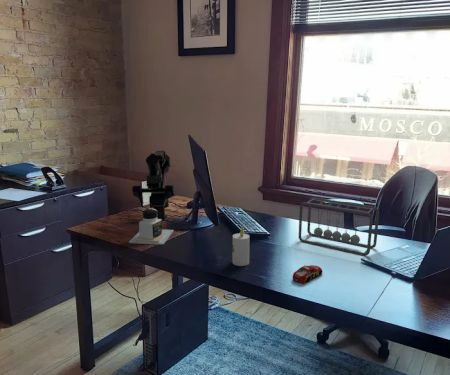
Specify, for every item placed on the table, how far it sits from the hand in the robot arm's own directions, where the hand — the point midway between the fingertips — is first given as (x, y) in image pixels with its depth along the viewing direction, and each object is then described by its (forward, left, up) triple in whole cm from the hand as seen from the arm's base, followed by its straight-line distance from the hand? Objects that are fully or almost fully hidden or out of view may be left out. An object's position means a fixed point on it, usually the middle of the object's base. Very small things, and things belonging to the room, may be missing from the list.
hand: (152, 207), depth 179 cm
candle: (+26, +42, -13) cm, 51 cm away
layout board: (+4, +1, -12) cm, 13 cm away
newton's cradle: (+3, +80, -13) cm, 81 cm away
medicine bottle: (+7, +1, -11) cm, 13 cm away
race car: (+35, +67, -13) cm, 76 cm away
